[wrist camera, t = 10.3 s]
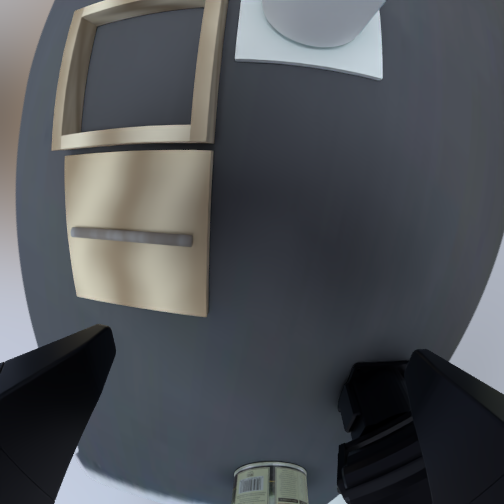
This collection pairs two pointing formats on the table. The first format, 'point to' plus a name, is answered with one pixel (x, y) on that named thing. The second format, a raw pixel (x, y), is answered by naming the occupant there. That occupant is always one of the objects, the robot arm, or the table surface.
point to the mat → (307, 46)
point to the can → (320, 19)
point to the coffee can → (270, 484)
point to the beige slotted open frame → (140, 178)
